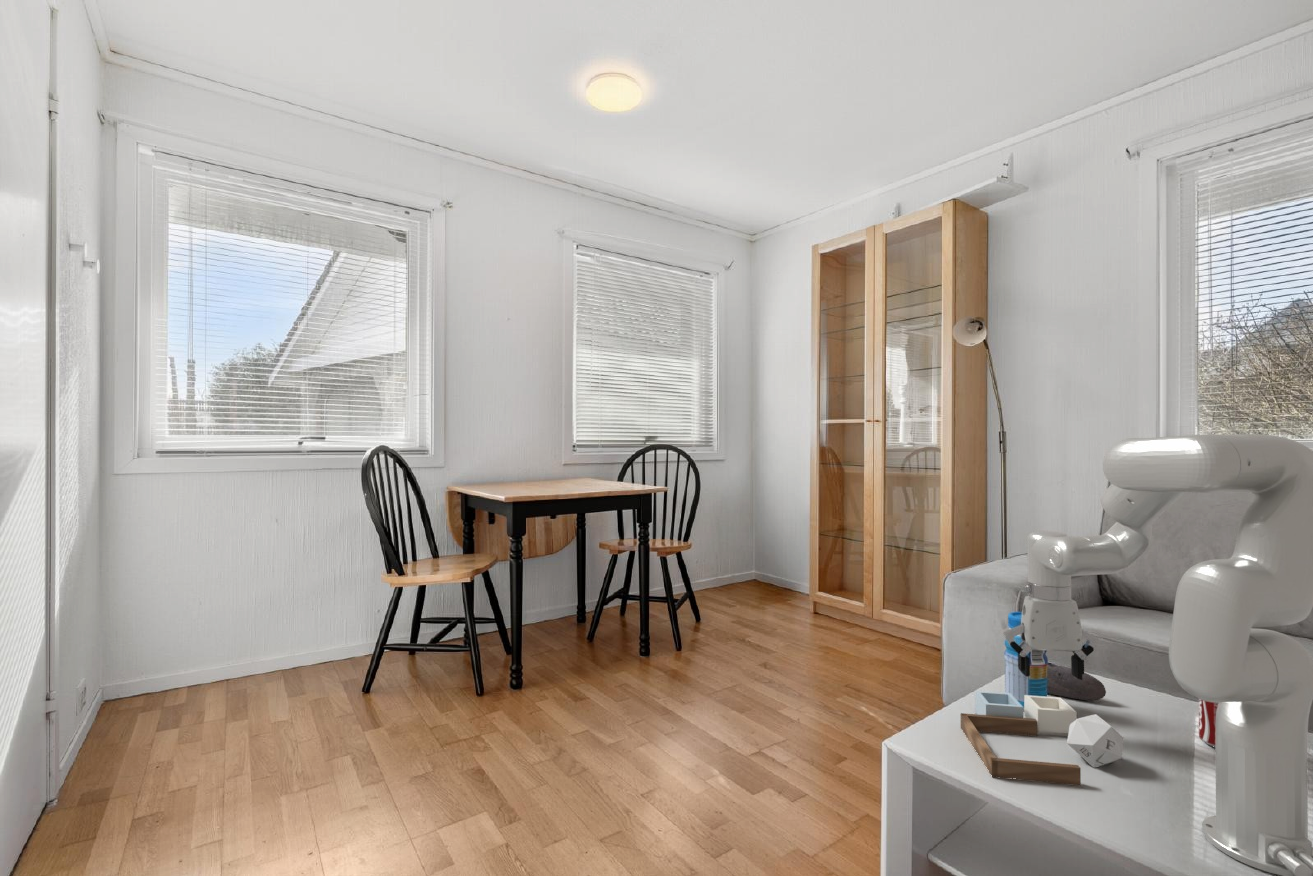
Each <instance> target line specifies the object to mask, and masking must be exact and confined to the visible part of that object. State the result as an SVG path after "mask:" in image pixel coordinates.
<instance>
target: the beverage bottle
mask: <svg viewBox="0 0 1313 876" xmlns="http://www.w3.org/2000/svg"><path fill="white" fill-rule="evenodd" d="M1021 616H1022V611H1012V612H1009V613H1008V616H1007V623H1008V630H1010V629H1012V628H1014V627H1016V626H1019V625H1021ZM1014 640H1015V642H1016V643H1017V644H1018V645H1019V644H1020V643H1021V642H1022V639H1021V634H1019V635H1017V636H1015V637H1014ZM1004 646H1005V648H1006V649H1005V650H1004V652H1003V658H1004V677H1005V679H1004V680H1005V681H1004V683H1005V684H1004V685H1005V686H1004V687H1005V688H1004V689H1005V690H1004V691H1005V692H1004V693H1011V694H1012V695H1013V696H1014V698H1015V699H1016V700H1017V701H1018V702H1019V703H1020V704H1021V705H1022V706H1023V711H1024V695H1030V696H1044V697H1048V693H1047V665H1048V662H1049V658H1048V656H1047V654H1046V653H1047V652H1048V650H1036V649H1032V650H1031V651H1030V652H1029V653H1028V654H1027V656H1028V657H1029V659H1030V676H1029V677H1026V676H1025V675H1024V674H1022V673H1021V671H1020V670H1019V668H1018V653H1017V652H1016V651H1015V650H1014V649H1013V648H1012V647H1011V646H1010V645H1009V644H1008V642H1007V640H1006V639H1005V640H1004Z"/></svg>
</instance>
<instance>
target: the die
mask: <svg viewBox="0 0 1313 876" xmlns="http://www.w3.org/2000/svg"><path fill="white" fill-rule="evenodd" d="M1066 740H1067V741H1066V744H1067V745H1068V746H1069V747H1070V748H1071V749H1073V750H1074V751H1075V752H1076V753H1077V754H1078V755H1079V756H1080V757H1081V758H1083V760H1085V761H1086V762H1087V763H1088V764H1089V765H1090V766H1091V767H1092V768H1097V767H1102V766H1104V765H1105V766H1106V765H1109V764H1112V763H1114V762H1116V761H1118V760H1121V759H1122V758H1123V751H1124V749H1123V747H1124V736H1122V734H1120V733H1119V732H1118V731H1117V730H1116V729H1115V728H1114V727H1113V726H1112V725H1110V724H1109V722H1106V721H1105V720H1104V719H1102V718H1101V717H1100V716H1099V715H1098V714H1091V715H1086V716H1083V717H1079V718H1077V719H1076V720H1075V721H1074V722H1072V723H1071V724H1070V726H1069V733H1068V736H1067V739H1066Z"/></svg>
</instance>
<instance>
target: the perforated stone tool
mask: <svg viewBox="0 0 1313 876" xmlns="http://www.w3.org/2000/svg"><path fill="white" fill-rule="evenodd" d="M1106 693H1107V690H1106V687H1105V685H1104V683H1102V682H1101V681H1100V680H1099V679H1097V678H1096V677H1094V676H1092V675H1090V674H1089V673H1086V672H1084V674H1082V680H1079V679H1077V678H1076V677H1075V676H1073V675H1072V673H1071V667H1069V666H1065V665H1062V664H1060V665H1058V664H1057V663H1053V662H1049V661H1048V665H1047V694H1049V695H1053V696H1058V697H1063V698H1069V699H1075V700H1079V701H1080V700H1081V701H1090V702H1091V701H1094V702H1095V701H1099V700H1101V699H1104V698H1105V697H1106Z"/></svg>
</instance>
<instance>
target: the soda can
mask: <svg viewBox="0 0 1313 876" xmlns="http://www.w3.org/2000/svg"><path fill="white" fill-rule="evenodd" d="M1218 704H1219V703H1213V702H1207V701H1203V700H1200V699H1198V736H1199V739H1200V740H1201V741H1202V742H1204V743H1205V744H1206V745H1208V746H1210V747H1212V746H1214V747H1215V732H1216V712H1217V707H1218ZM1214 747H1213V748H1214Z"/></svg>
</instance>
